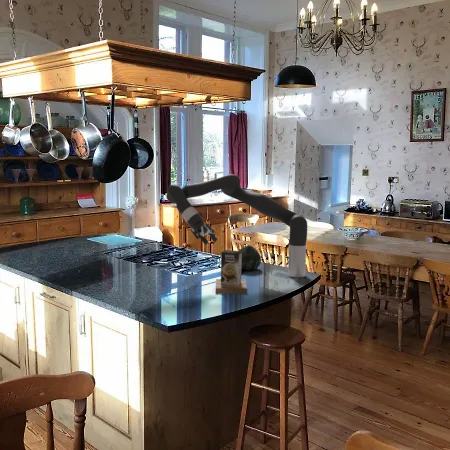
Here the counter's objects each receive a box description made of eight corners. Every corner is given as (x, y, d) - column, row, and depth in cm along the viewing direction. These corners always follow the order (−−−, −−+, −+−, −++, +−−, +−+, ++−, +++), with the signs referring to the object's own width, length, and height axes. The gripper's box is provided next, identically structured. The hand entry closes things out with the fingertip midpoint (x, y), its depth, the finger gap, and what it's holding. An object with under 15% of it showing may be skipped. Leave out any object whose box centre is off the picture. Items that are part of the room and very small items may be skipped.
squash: (240, 255, 302) (236, 239, 291) (265, 258, 297) (261, 242, 286) (234, 274, 293) (229, 259, 282) (259, 278, 288) (255, 262, 277)
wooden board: (216, 283, 259) (216, 279, 258) (245, 284, 259) (245, 279, 258) (215, 293, 242) (215, 288, 241) (247, 293, 242) (247, 288, 241)
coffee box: (220, 284, 248) (220, 252, 246) (223, 281, 254) (224, 249, 252) (238, 285, 246) (238, 253, 243) (241, 282, 252) (242, 250, 249)
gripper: (195, 220, 265) (214, 244, 261) (180, 224, 253) (199, 249, 249) (204, 211, 261) (223, 235, 257) (188, 214, 249) (208, 239, 245)
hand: (211, 242), depth 253 cm, fingers open, 8 cm apart
